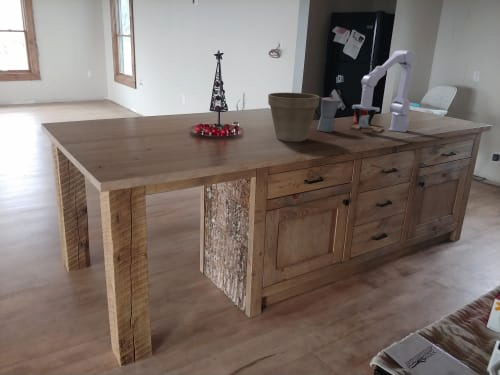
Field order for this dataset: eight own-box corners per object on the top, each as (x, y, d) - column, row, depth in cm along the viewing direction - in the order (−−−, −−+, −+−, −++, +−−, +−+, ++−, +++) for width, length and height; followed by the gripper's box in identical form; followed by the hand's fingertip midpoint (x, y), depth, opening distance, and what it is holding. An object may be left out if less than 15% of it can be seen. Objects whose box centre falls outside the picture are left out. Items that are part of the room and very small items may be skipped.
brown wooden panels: (383, 129, 257) (383, 127, 257) (379, 133, 248) (379, 130, 248) (355, 126, 264) (356, 124, 264) (350, 129, 255) (350, 127, 255)
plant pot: (258, 134, 231) (260, 91, 224) (301, 132, 240) (304, 91, 233) (278, 145, 209) (281, 98, 202) (324, 143, 218) (329, 98, 211)
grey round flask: (359, 124, 251) (361, 115, 249) (369, 126, 248) (371, 116, 247) (355, 127, 243) (356, 117, 242) (365, 128, 241) (366, 118, 239)
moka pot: (338, 133, 242) (342, 96, 235) (309, 131, 244) (313, 94, 238) (338, 130, 251) (342, 93, 244) (311, 128, 253) (314, 92, 247)
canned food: (363, 125, 268) (365, 106, 265) (350, 123, 273) (353, 105, 269) (368, 123, 274) (370, 105, 271) (356, 121, 279) (358, 104, 275)
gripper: (351, 97, 242) (348, 122, 247) (378, 100, 236) (375, 126, 240) (355, 96, 248) (352, 120, 252) (381, 99, 242) (378, 124, 246)
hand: (363, 123), depth 247 cm, fingers closed on grey round flask, 6 cm apart
